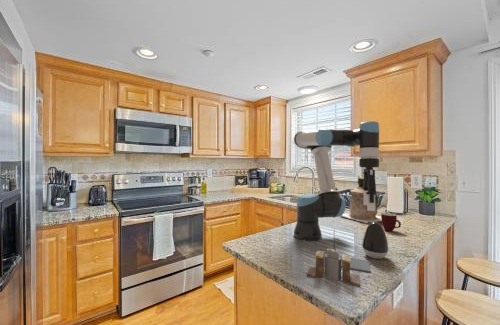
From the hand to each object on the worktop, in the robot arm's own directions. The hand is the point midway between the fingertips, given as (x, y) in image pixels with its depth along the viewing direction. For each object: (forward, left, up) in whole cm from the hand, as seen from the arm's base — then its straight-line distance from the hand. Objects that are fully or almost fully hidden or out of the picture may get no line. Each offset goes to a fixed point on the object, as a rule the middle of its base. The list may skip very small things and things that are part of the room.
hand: (368, 207), depth 100 cm
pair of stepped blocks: (-13, -22, -22) cm, 34 cm away
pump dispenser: (+3, +5, -23) cm, 23 cm away
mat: (-6, -8, -22) cm, 24 cm away
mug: (+16, +53, -23) cm, 60 cm away
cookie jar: (+2, +82, -23) cm, 85 cm away
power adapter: (-13, -22, -23) cm, 34 cm away
